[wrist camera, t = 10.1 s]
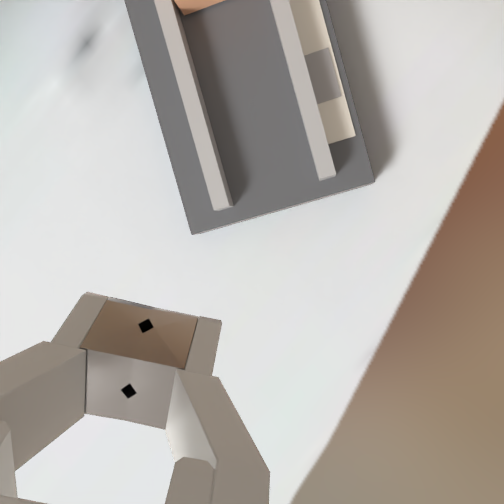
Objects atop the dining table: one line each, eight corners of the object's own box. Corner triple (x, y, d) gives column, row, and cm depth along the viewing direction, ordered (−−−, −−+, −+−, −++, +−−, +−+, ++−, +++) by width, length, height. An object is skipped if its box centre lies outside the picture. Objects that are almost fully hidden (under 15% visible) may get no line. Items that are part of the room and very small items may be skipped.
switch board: (371, 184, 29) (378, 179, 25) (199, 233, 31) (184, 235, 27) (280, -151, 28) (275, -203, 25) (110, -78, 30) (83, -117, 26)
